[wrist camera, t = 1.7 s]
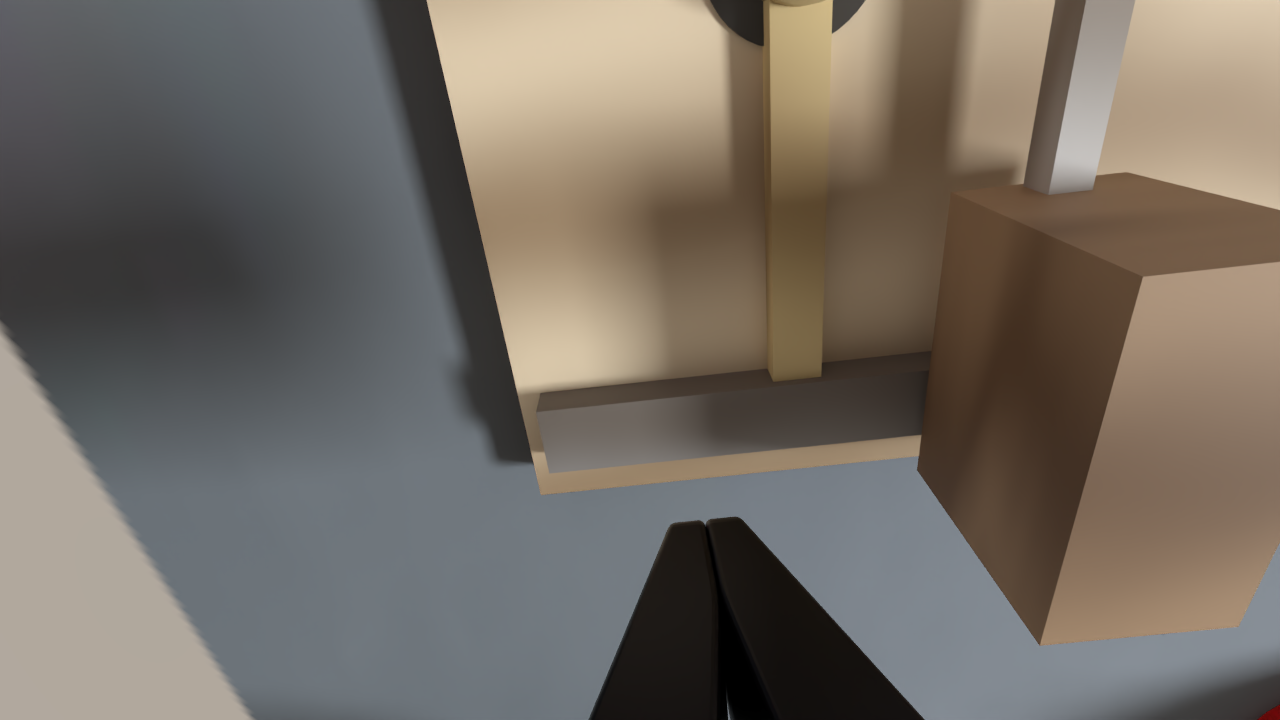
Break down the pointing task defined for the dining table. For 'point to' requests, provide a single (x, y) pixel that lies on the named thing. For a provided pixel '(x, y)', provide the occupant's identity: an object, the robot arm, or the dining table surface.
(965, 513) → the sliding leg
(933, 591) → the dining table surface
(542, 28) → the gauge board
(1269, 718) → the white dome
